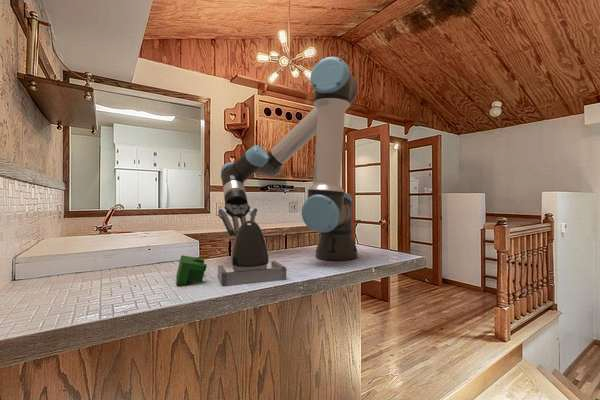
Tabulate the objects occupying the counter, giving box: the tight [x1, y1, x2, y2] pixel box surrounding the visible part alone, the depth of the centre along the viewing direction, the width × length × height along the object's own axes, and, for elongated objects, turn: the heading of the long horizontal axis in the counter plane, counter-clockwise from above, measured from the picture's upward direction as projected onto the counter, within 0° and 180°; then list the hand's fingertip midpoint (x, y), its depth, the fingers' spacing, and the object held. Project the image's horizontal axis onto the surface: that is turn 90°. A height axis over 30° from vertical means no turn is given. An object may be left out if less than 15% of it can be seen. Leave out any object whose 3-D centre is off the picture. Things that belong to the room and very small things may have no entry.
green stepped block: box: [176, 254, 208, 286], centre depth 79 cm, size 12×6×9 cm, turn 17°
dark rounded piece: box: [230, 220, 270, 272], centre depth 83 cm, size 10×10×15 cm
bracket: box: [217, 260, 287, 287], centre depth 80 cm, size 16×10×3 cm, turn 111°
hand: (244, 251), depth 89 cm, fingers closed
